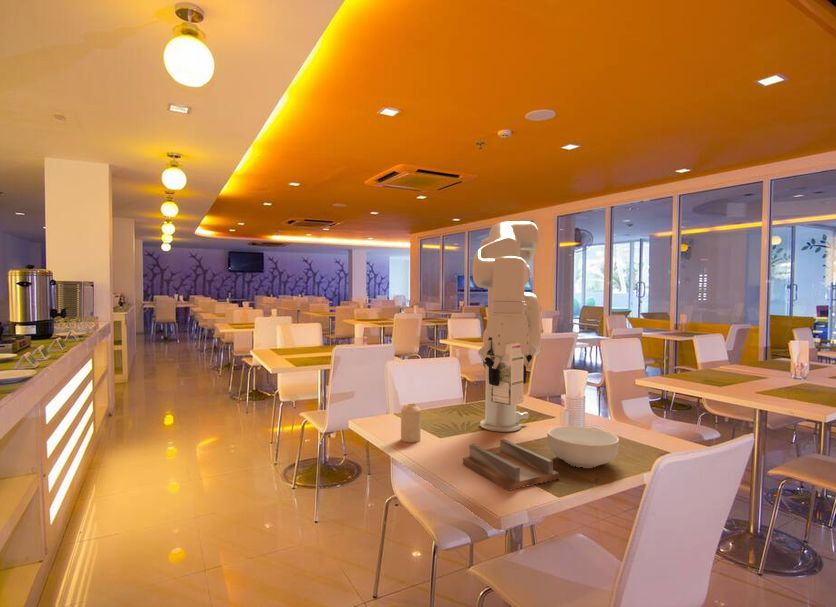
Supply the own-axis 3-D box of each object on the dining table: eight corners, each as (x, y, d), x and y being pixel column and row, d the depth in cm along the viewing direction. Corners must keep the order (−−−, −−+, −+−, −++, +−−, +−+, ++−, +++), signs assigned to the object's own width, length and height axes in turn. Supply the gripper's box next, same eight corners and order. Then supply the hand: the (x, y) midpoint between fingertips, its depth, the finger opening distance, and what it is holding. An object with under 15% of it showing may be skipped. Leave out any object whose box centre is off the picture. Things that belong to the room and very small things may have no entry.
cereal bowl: (634, 471, 117) (634, 441, 117) (572, 478, 113) (573, 447, 113) (589, 449, 134) (590, 423, 134) (534, 454, 129) (534, 427, 129)
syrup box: (524, 402, 119) (525, 341, 118) (510, 406, 114) (511, 342, 114) (504, 398, 123) (504, 339, 122) (490, 402, 118) (490, 341, 118)
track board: (509, 455, 128) (509, 438, 128) (558, 479, 112) (559, 459, 112) (463, 463, 122) (463, 445, 122) (508, 490, 106) (508, 469, 106)
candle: (418, 443, 138) (418, 407, 137) (398, 442, 139) (399, 406, 138) (422, 437, 143) (422, 403, 143) (403, 436, 144) (403, 402, 144)
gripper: (527, 308, 125) (526, 379, 126) (468, 308, 118) (467, 384, 118) (547, 309, 119) (546, 383, 119) (486, 309, 111) (485, 389, 111)
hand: (507, 383), depth 118 cm, fingers closed on syrup box, 7 cm apart
